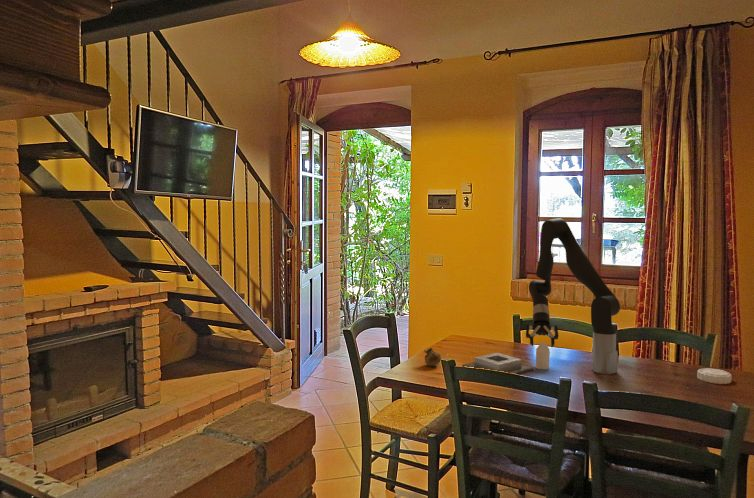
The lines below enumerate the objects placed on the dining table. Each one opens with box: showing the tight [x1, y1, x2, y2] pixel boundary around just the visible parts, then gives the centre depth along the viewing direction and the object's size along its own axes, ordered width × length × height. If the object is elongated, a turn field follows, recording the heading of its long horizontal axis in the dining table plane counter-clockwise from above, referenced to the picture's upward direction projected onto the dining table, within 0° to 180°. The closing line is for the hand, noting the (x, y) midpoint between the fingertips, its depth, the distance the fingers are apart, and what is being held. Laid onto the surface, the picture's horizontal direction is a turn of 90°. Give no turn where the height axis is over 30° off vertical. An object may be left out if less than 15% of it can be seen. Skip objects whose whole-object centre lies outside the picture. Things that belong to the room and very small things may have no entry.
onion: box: [423, 347, 442, 367], centre depth 244 cm, size 8×8×8 cm
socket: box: [461, 352, 535, 375], centre depth 240 cm, size 22×22×4 cm
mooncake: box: [696, 367, 732, 385], centre depth 223 cm, size 12×12×4 cm
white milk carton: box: [535, 341, 551, 370], centre depth 240 cm, size 6×12×6 cm
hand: (542, 345), depth 243 cm, fingers open, 8 cm apart
